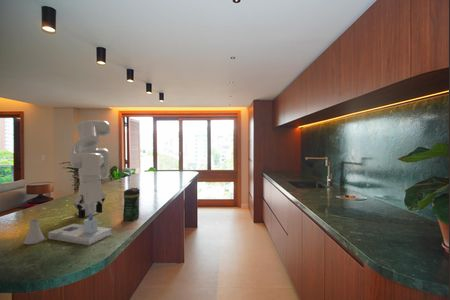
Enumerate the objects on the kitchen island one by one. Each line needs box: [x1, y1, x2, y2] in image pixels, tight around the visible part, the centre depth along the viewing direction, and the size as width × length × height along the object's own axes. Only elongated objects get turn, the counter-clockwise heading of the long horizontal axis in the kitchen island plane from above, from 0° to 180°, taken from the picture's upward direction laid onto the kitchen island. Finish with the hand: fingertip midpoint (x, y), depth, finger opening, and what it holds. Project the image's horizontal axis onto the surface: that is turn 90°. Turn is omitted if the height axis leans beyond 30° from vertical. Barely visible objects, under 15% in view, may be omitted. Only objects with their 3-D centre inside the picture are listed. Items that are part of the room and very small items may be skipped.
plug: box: [83, 213, 98, 234], centre depth 109 cm, size 5×4×12 cm
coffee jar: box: [122, 187, 140, 222], centre depth 139 cm, size 10×8×19 cm
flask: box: [22, 218, 45, 246], centre depth 104 cm, size 7×7×10 cm
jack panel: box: [48, 223, 112, 246], centre depth 110 cm, size 24×13×4 cm, turn 74°
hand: (90, 215), depth 108 cm, fingers open, 9 cm apart
